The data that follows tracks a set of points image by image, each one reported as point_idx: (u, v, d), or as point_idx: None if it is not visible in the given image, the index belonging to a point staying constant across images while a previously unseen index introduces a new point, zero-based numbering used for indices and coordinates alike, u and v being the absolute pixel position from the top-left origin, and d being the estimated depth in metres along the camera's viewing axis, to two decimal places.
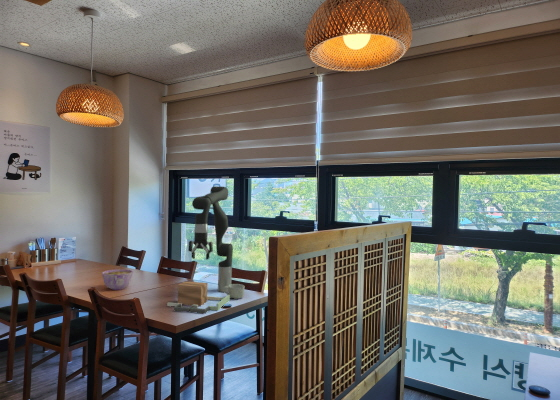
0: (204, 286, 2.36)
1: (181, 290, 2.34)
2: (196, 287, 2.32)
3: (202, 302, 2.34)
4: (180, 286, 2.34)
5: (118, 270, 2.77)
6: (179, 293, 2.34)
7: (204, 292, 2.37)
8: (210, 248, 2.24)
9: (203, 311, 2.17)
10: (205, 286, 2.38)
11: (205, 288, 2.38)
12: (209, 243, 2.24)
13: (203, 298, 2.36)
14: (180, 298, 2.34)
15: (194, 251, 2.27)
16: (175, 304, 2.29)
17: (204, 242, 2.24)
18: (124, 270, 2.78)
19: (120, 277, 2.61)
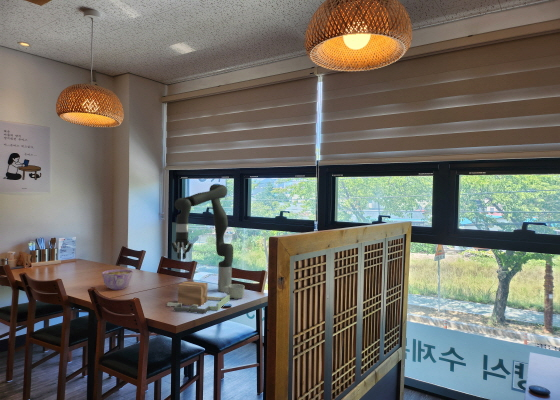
0: (204, 286, 2.36)
1: (181, 290, 2.34)
2: (196, 287, 2.32)
3: (202, 302, 2.34)
4: (180, 286, 2.34)
5: (118, 270, 2.77)
6: (179, 293, 2.34)
7: (204, 292, 2.37)
8: (187, 249, 2.36)
9: (203, 311, 2.17)
10: (205, 286, 2.38)
11: (205, 288, 2.38)
12: (189, 244, 2.36)
13: (203, 298, 2.36)
14: (180, 298, 2.34)
15: None
16: (175, 304, 2.29)
17: (185, 241, 2.36)
18: (124, 270, 2.78)
19: (120, 277, 2.61)
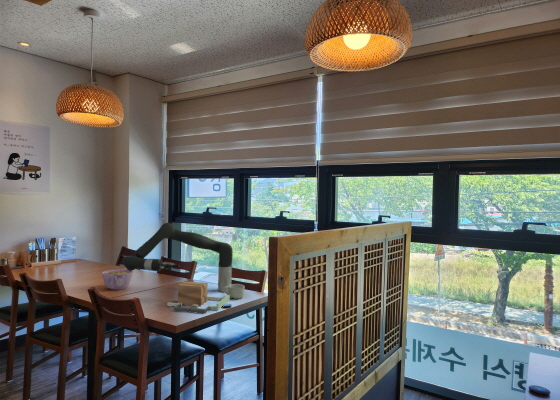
0: (204, 286, 2.36)
1: (181, 290, 2.34)
2: (196, 287, 2.32)
3: (202, 302, 2.34)
4: (180, 286, 2.34)
5: (118, 270, 2.77)
6: (179, 293, 2.34)
7: (204, 292, 2.37)
8: None
9: (203, 311, 2.17)
10: (205, 286, 2.38)
11: (205, 288, 2.38)
12: (161, 269, 2.36)
13: (203, 298, 2.36)
14: (180, 298, 2.34)
15: None
16: (175, 304, 2.29)
17: (160, 268, 2.38)
18: (124, 270, 2.78)
19: (120, 277, 2.61)
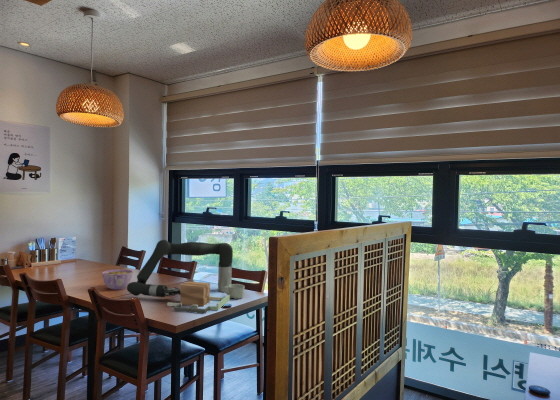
0: (206, 286, 2.36)
1: (183, 290, 2.33)
2: (198, 287, 2.32)
3: (204, 302, 2.33)
4: (182, 286, 2.33)
5: (118, 270, 2.77)
6: (181, 293, 2.34)
7: (206, 292, 2.36)
8: (171, 295, 2.36)
9: (203, 311, 2.17)
10: (207, 287, 2.37)
11: (207, 288, 2.37)
12: (166, 295, 2.36)
13: (206, 298, 2.35)
14: (183, 298, 2.33)
15: None
16: (175, 304, 2.29)
17: None
18: (124, 270, 2.78)
19: (120, 277, 2.61)
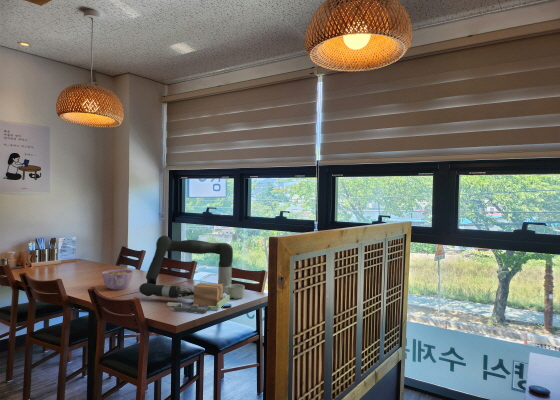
0: (220, 287, 2.34)
1: (196, 291, 2.32)
2: (212, 288, 2.30)
3: None
4: (196, 287, 2.32)
5: (118, 270, 2.77)
6: (195, 294, 2.32)
7: (220, 293, 2.35)
8: (184, 296, 2.35)
9: (203, 311, 2.17)
10: (221, 288, 2.36)
11: (221, 289, 2.36)
12: (179, 296, 2.34)
13: (219, 299, 2.34)
14: (196, 299, 2.32)
15: None
16: (175, 304, 2.29)
17: None
18: (124, 270, 2.78)
19: (120, 277, 2.61)
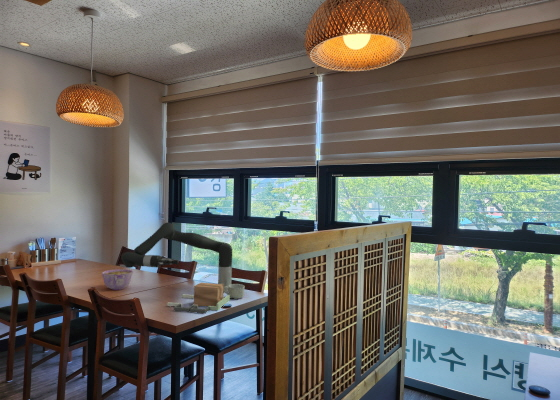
0: (220, 287, 2.34)
1: (197, 291, 2.32)
2: (212, 289, 2.30)
3: None
4: (196, 287, 2.32)
5: (118, 270, 2.77)
6: (195, 294, 2.32)
7: (220, 293, 2.34)
8: (165, 264, 2.37)
9: (203, 311, 2.17)
10: (221, 288, 2.36)
11: (221, 289, 2.36)
12: (160, 265, 2.36)
13: (220, 299, 2.34)
14: (196, 299, 2.32)
15: None
16: (175, 304, 2.29)
17: (158, 264, 2.38)
18: (124, 270, 2.78)
19: (120, 277, 2.61)
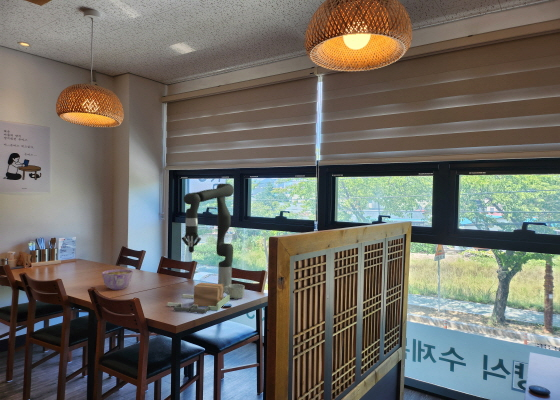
0: (220, 287, 2.34)
1: (197, 291, 2.32)
2: (212, 289, 2.30)
3: None
4: (196, 287, 2.32)
5: (118, 270, 2.77)
6: (195, 294, 2.32)
7: (220, 293, 2.34)
8: (196, 243, 2.41)
9: (203, 311, 2.17)
10: (221, 288, 2.36)
11: (221, 289, 2.36)
12: (198, 239, 2.41)
13: (220, 299, 2.34)
14: (196, 299, 2.32)
15: None
16: (175, 304, 2.29)
17: (195, 235, 2.41)
18: (124, 270, 2.78)
19: (120, 277, 2.61)
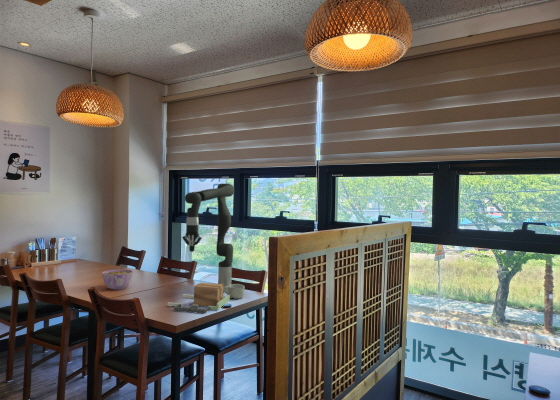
0: (220, 287, 2.34)
1: (197, 291, 2.32)
2: (212, 289, 2.30)
3: None
4: (196, 287, 2.32)
5: (118, 270, 2.77)
6: (195, 294, 2.32)
7: (220, 293, 2.34)
8: (196, 242, 2.41)
9: (203, 311, 2.17)
10: (221, 288, 2.36)
11: (221, 289, 2.36)
12: (199, 238, 2.41)
13: (220, 299, 2.34)
14: (196, 299, 2.32)
15: None
16: (175, 304, 2.29)
17: (196, 234, 2.41)
18: (124, 270, 2.78)
19: (120, 277, 2.61)
